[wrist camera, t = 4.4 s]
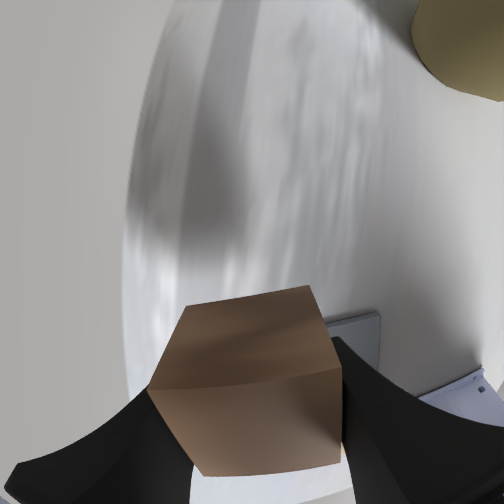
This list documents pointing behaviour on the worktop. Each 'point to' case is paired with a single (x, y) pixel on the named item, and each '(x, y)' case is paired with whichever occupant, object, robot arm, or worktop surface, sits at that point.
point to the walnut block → (252, 385)
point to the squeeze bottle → (462, 44)
